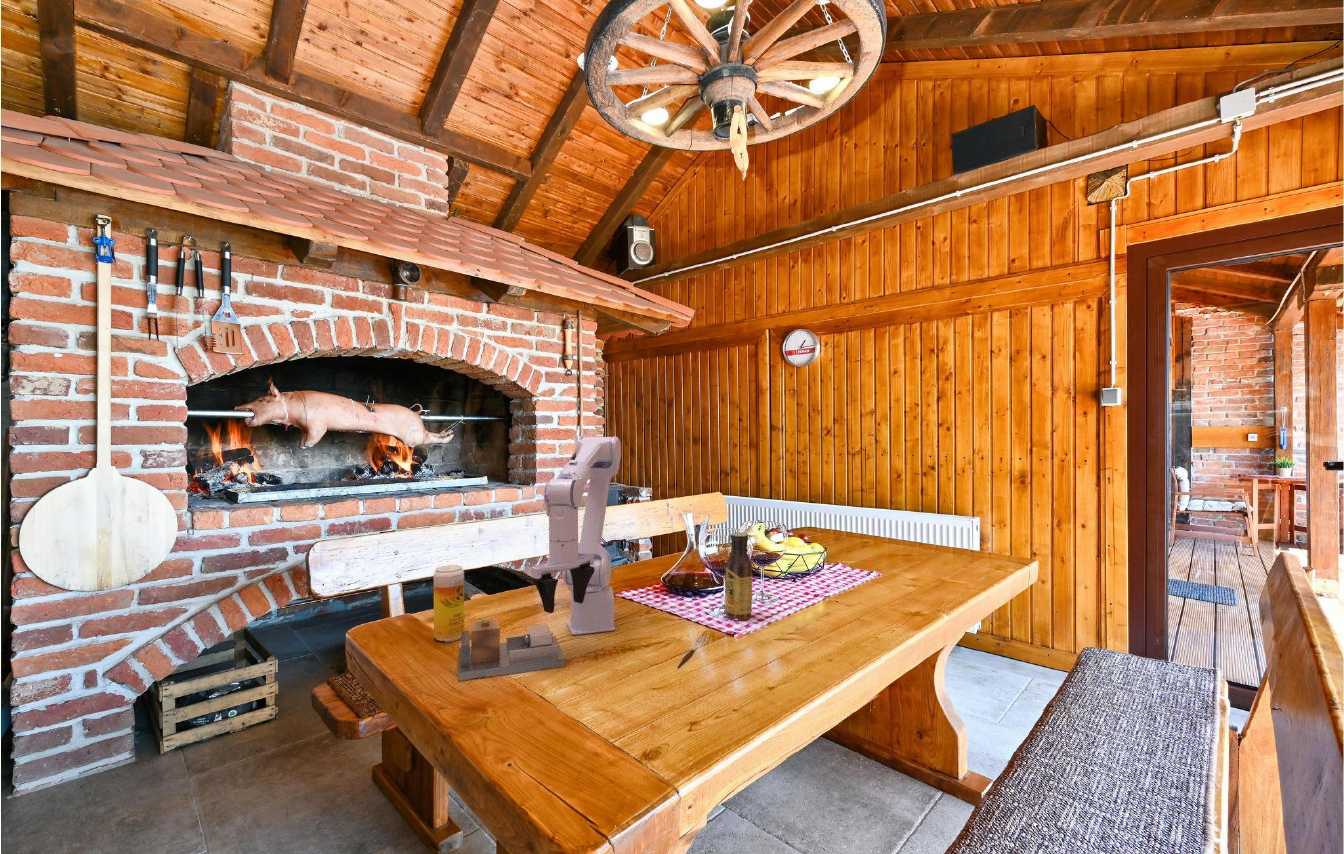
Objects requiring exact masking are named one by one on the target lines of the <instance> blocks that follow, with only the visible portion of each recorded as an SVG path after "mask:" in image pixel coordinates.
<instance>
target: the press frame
mask: <svg viewBox="0 0 1344 854" xmlns="http://www.w3.org/2000/svg"><path fill="white" fill-rule="evenodd" d="M550 631H551V633H552V646H544V647H536V648H529V647H525V648H524V643H523V635H524V634H519V635H512V636H506V642H500V660H495V661H487V662H479V663H472V655H471V643H470V642H471V639H470V638H471V636H470V635H471V633H470V632H471V631H470V630H464V631H461V638H460V647H459V648H458V668H457V670H458V671H457V672H458V673H457V674H458V675H457V676H458V677H457V679H458V682H462V681H468V680H469V681H470V680H476V679H475V678H478V679H483V678H482V677H485V678H488V677H487V676H492V677H497V676H506V675H510V674H511V675H512V674H520V673H521V674H522V673H527V672H533V671H540V670H541V671H542V670H547V669H548V670H549V669H555V668H561V667H562V668H563V667H566V658H565V655H564V653H563V651H562V648H561V646H560V643H559V642H558V638H557V636H554V635H553V631H552V630H550Z"/></svg>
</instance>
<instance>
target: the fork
mask: <svg viewBox="0 0 1344 854" xmlns="http://www.w3.org/2000/svg"><path fill="white" fill-rule="evenodd" d="M702 634H703V632H701V634H700V631H698V633H697V634H696V635H697V636H696V638H695V640H694V644H697V645H701V644H706V645H707V642H708V639H709V634H710V632H708V633H706V631H705V632H704V634H703V637H702ZM706 634H707V635H706ZM699 635H700V636H699ZM705 636H706V638H705ZM698 638H699V639H698ZM697 648H698V649H700V647H699V646H693V649H691V650H690V651H688V653H686V654H685V655H684V656H683V658H682V659H681V661H680V662H679V664H678V666H677V667H676V668H677V669H679V668H681V667H682V666H683V665H684V664H686V663H687V660H688V659H689V660H690V659H691V658H692V656H693V655H694V653H695V651H696V650H697ZM690 657H691V658H690ZM689 660H688V661H689Z"/></svg>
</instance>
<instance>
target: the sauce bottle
mask: <svg viewBox="0 0 1344 854" xmlns="http://www.w3.org/2000/svg"><path fill="white" fill-rule="evenodd" d="M730 541H731V542H730V545H731V546H730V547H731V549H730V553H729V556H728V559H727V562H726V564H725V588H724V589H725V590H724V592H725V597H724V598H725V601H724V602H725V603H724V604H725V605H724V608H725V616H726V617H727V618H728V617H729V618H728V619H730V620H732V619H738V620H737V621H744V620H743V619H747V620H749V619H750V618H751V616H752V611H753V609H752V608H753V605H752V603H753V573H752V571H753V568H752V567H753V562H752V560H751V557H750V556H749V554H748V550H749V549H748V541H749V534H748V533H747V532H740V531H739V532H737V531H735V532H732V533H730Z"/></svg>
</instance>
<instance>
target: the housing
mask: <svg viewBox="0 0 1344 854" xmlns="http://www.w3.org/2000/svg"><path fill="white" fill-rule="evenodd" d="M470 624H471V626H470V627H471V628H470V632H471V633H470V635H471V636H470V638H471V639H470V642H471V643H470V647H471V655H472V663H479V662H487V661H495V660H500V643H501V632H500V631H501V629H500V622H499V619H491V620H490V618H489V617H483V618H481V620H480V621H475V622H474V621H473V622H470Z"/></svg>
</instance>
